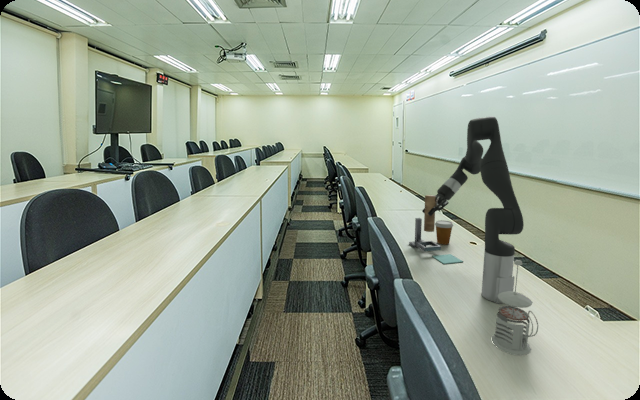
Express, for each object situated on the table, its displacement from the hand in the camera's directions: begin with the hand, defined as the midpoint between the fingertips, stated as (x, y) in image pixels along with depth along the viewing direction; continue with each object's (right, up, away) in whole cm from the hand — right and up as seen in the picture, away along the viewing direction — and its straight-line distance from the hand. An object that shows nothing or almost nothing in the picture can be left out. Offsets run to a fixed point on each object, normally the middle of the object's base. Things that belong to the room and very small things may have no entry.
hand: (426, 213), depth 155 cm
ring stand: (+1, -20, +9) cm, 21 cm away
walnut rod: (+2, -9, +2) cm, 9 cm away
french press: (0, -34, -69) cm, 77 cm away
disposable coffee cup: (+16, -18, +18) cm, 30 cm away
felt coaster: (+8, -22, -6) cm, 24 cm away
